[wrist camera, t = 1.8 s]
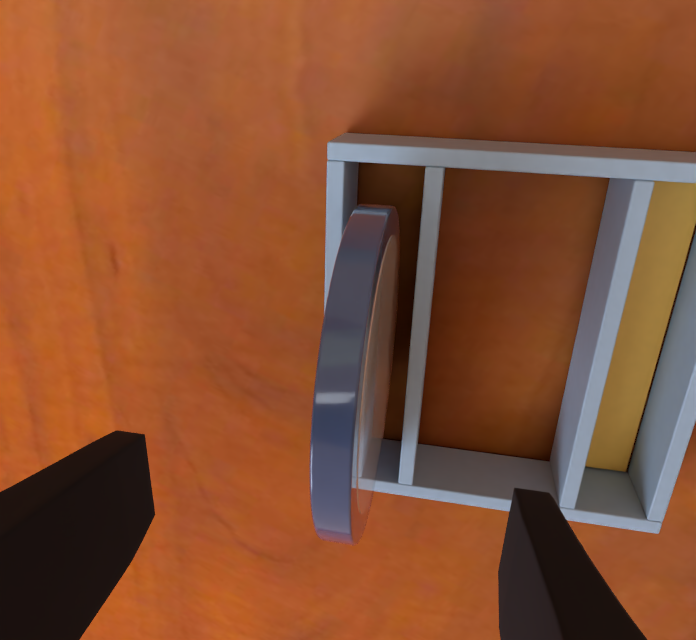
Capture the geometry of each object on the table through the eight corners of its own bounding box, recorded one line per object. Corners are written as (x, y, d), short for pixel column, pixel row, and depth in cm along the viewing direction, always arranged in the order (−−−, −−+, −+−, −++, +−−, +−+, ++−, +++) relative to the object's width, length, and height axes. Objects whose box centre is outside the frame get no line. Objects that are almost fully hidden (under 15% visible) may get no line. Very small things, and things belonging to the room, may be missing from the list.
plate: (389, 421, 22) (345, 629, 14) (364, 418, 22) (306, 622, 14) (407, 179, 18) (362, 265, 10) (378, 177, 18) (309, 260, 10)
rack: (638, 484, 21) (659, 534, 19) (334, 442, 23) (320, 483, 20) (735, 153, 16) (780, 167, 14) (344, 132, 18) (327, 141, 16)
